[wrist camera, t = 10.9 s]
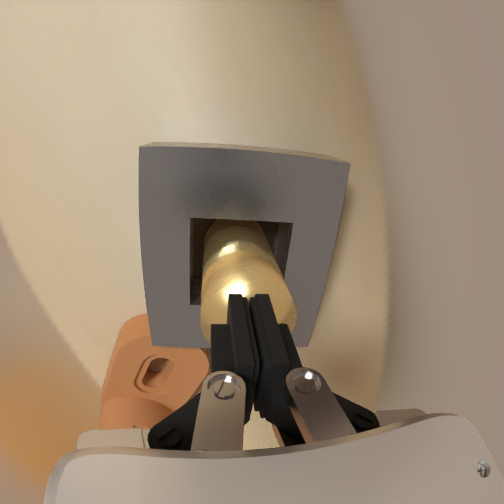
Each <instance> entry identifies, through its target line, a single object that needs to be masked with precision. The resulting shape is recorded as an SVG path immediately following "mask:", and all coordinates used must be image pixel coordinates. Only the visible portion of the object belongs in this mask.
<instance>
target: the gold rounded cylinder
mask: <svg viewBox="0 0 504 504" xmlns="http://www.w3.org/2000/svg"><path fill="white" fill-rule="evenodd" d="M229 293H231V294H242V297H247V300H248V306H249V302H250V297H254V296H255V294H269V297H270V300H271V303H272V306H273V310H274V313H275V316H276V319H277V323H278V324H287V325H288V327H289V330H290V332H291V333H292V331H293V329H294V327H295V324H296V319H297V312H296V307H295V304H294V302H293V299H292V297H291V295H290V292H289V290H288V288H287V285H286V283H285V281H284V278H283V276H282V274H281V271H280V269H279V267H278V264H277V262H276V260H275V257H274V255H273V253H272V250H271V248H270V246H269V244H268V241H267V239H266V237H265V234H264V232H263V230H262V228H261V226H260V225H259V224H258V223H257V222H256V221H253V220H233V219H217V220H216V221H215V222H214V223H213V224H212V225H211V226H210V227H209V229H208V231H207V233H206V236H205V242H204V257H203V274H202V293H201V317H200V324H201V330H202V333H203V335H204V337H205V338H206V340H207V341H208V342H209V343H210V344H211V324H227V309H228V295H229Z"/></svg>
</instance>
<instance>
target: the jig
mask: <svg viewBox="0 0 504 504" xmlns="http://www.w3.org/2000/svg"><path fill="white" fill-rule="evenodd" d="M349 168H350V163H348V162H345V161H342V160H339V159H336V158H333V157H330V156H326V155H319V154H313V153H306V152H298V151H290V150H282V149H273V148H263V147H253V146H241V145H226V144H208V143H175V142H152V143H149V144H146V145H143V146H140V147H139V221H140V241H141V256H142V268H143V279H144V289H145V298H146V306H147V314H148V321H149V328H150V335H151V341H152V346H163V347H182V348H211V344H210V343H209V342H208V341H207V340H206V338H205V337H204V335H203V333H202V330H201V324H200V317H201V293H202V278H193V224H194V218H211V219H233V220H253V221H271V222H278V229H277V236H276V243H275V250H274V257H275V260H276V262H277V264H278V267H279V269H280V271H281V274H282V276H283V278H284V281H285V283H286V285H287V288H288V290H289V292H290V295H291V297H292V299H293V302H294V304H295V307H296V312H297V319H296V324H295V327H294V329H293V331H292V333H291V335H292V338H293V341H294V344H295V347H303V346H308V345H309V341H310V338H311V334H312V331H313V328H314V324H315V321H316V317H317V313H318V310H319V306H320V302H321V299H322V295H323V291H324V287H325V283H326V279H327V275H328V271H329V267H330V263H331V259H332V254H333V250H334V246H335V241H336V236H337V232H338V227H339V222H340V217H341V212H342V207H343V202H344V197H345V191H346V186H347V180H348V174H349Z"/></svg>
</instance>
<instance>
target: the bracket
mask: <svg viewBox="0 0 504 504" xmlns="http://www.w3.org/2000/svg"><path fill="white" fill-rule="evenodd" d="M156 358H166V359H169V360H168V361H167V363H166V365H165V367H164V369H163V370H162V371H160V372H150V371H148V370H147V368H148V366H149V364H150V362H151V361H152V360H154V359H156ZM208 370H209V361H208V356H207V350H206V348H182V347H163V346H152V341H151V335H150V328H149V321H148V314H142V315H138V316H136V317H134V318H132V319H130V320H129V321H128V322H127V323H125V324H124V326H123V327H122V328H121V330H120V332H119V335H118V338H117V341H116V345H115V348H114V351H113V354H112V357H111V361H110V364H109V367H108V371H107V374H106V378H105V381H104V385H103V389H102V399H101V411H100V425H99V430H113V429H129V428H141V430H145V429H151V428H152V427H153V426H154V425H156V424H157V423H159V422H160V421H162V420H163V419H164V418H166V417H167V416H169V415H170V414H172V413H173V412H174V411H176V410H177V409H179V408H180V407H181V406H183V405H184V404H185V403H187V401H188V400H189V398H190V397H191V396H192V394H193V393H194V392H195V390H196V389H197V388H198V386H199V385H200V383H201V382H202V381H203V379H204V378H205V377H206V375H207V373H208Z"/></svg>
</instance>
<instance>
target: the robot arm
mask: <svg viewBox="0 0 504 504" xmlns="http://www.w3.org/2000/svg"><path fill="white" fill-rule="evenodd" d="M253 404H254V409H255V411H259V412H260V417H261V418H266V420H267V421H269V422H270V423H272V428H273V431H274V433H275V436H276V438H277V441H278V443H279V446H280V447H277V448H267V449H255V450H243V434H244V425H245V424H246V423H247V422H248V421H249V419H250V414H251V411H252V406H253ZM43 504H504V481H503V479H502V476H501V474H500V472H499V470H498V468H497V466H496V464H495V462H494V460H493V458H492V456H491V454H490V452H489V451H488V449H487V447H486V445H485V444H484V442H483V440H482V439H481V437H480V436H479V434H478V432H477V431H476V430H475V429H474V427H473V426H472V424H471V423H470V422H469V421H468V420H467V419H465V418H464V417H462V416H461V415H458V414H454V413H432V414H426V413H425V412H423V411H422V410H420V409H404V410H386V411H377V412H376V413H373V412H371V411H370V410H368V409H366V408H364V407H362V406H359V405H357V404H355V403H353V402H351V401H349V400H347V399H345V398H343V397H341V396H339V395H337V394H335V393H333V392H332V391H331V389H330V388H329V386H328V384H327V383H326V381H325V379H324V378H323V377H322V375H321V374H320V373H318V372H317V371H316V370H313V369H310V368H305V367H302V364H301V361H300V358H299V355H298V353H297V350H296V347H295V344H294V341H293V338H292V335H291V332H290V330H289V327H288V325H287V324H278V323H277V319H276V316H275V313H274V310H273V306H272V303H271V300H270V297H269V294H255V296H254V297H250V302H249V306H248V300H247V297H242V294H231V293H229V295H228V309H227V324H211V374H210V375H208V376H207V377H206V378H205V380H204V382H203V385H202V390H201V392H200V393H199V394H198V395H196V396H195V397H194V398H192V399H191V400H190V401H188V402H187V403H185V404H184V405H183V406H181V407H180V408H179V409H177V410H176V411H174V412H173V413H172V414H170V415H169V416H167V417H166V418H164V419H163V420H162V421H160V422H159V423H157V424H156V425H154V426H153V427H152V428H151V429H145V430H141V428H129V429H113V430H91V431H86V432H84V433H83V434H81V435H80V437H79V438H78V442H77V450H75V451H72V452H69V453H67V454H65V455H63V456H62V457H61V458H60V459H59V460H58V461H57V462H56V464H55V466H54V467H53V470H52V472H51V474H50V477H49V480H48V484H47V488H46V492H45V497H44V503H43Z"/></svg>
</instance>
